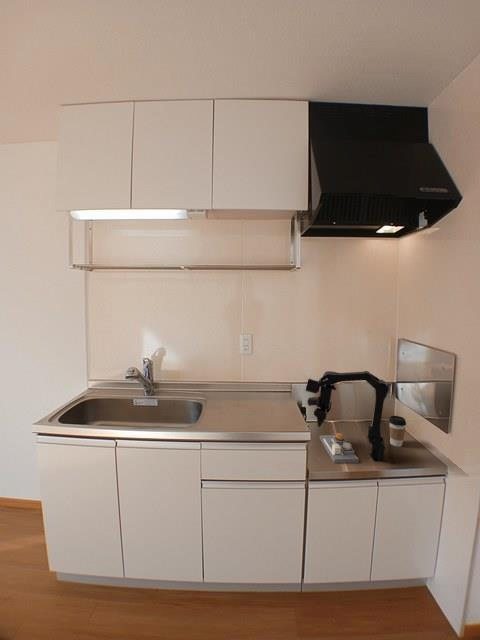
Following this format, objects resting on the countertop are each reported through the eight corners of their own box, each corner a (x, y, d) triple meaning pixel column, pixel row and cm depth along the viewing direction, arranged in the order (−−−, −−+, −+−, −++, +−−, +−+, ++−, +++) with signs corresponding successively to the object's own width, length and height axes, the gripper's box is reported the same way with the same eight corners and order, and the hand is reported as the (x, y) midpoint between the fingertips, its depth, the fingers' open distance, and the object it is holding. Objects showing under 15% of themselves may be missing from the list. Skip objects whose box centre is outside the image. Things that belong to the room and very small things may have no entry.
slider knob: (340, 454, 152) (340, 447, 151) (334, 454, 151) (334, 447, 151) (337, 450, 156) (337, 443, 155) (332, 450, 155) (332, 443, 155)
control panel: (358, 462, 148) (358, 456, 148) (334, 463, 148) (334, 456, 147) (340, 438, 172) (340, 432, 172) (319, 438, 172) (319, 433, 171)
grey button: (352, 450, 153) (352, 446, 152) (344, 450, 152) (344, 446, 152) (349, 446, 157) (349, 442, 156) (341, 446, 156) (341, 442, 156)
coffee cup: (387, 445, 164) (388, 419, 163) (387, 438, 172) (389, 413, 170) (404, 449, 160) (406, 422, 159) (404, 442, 168) (406, 416, 166)
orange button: (344, 440, 163) (345, 436, 162) (337, 440, 162) (337, 436, 162) (342, 436, 167) (342, 433, 166) (334, 436, 166) (335, 433, 166)
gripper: (314, 386, 170) (309, 412, 172) (306, 396, 153) (301, 425, 156) (334, 391, 166) (329, 418, 168) (328, 403, 149) (323, 432, 151)
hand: (320, 423), depth 161 cm, fingers open, 9 cm apart
